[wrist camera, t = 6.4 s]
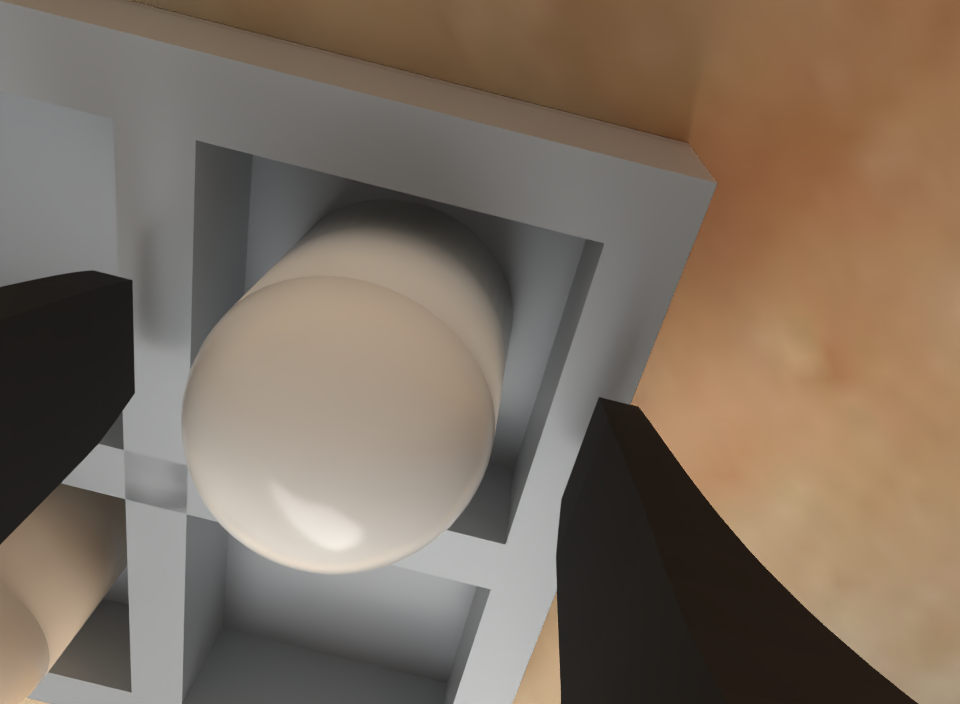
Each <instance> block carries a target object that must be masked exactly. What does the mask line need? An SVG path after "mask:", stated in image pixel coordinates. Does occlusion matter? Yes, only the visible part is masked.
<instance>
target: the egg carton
mask: <svg viewBox="0 0 960 704" xmlns="http://www.w3.org/2000/svg"><path fill="white" fill-rule="evenodd" d="M716 186H717V182H716V180H715V179H714V178H713V176H712V175H711V174H710V172H709V171H708V170H707V168H706V167H705V165H704V164H703V163H702V161H701V160H700V159H699V157H698V156H697V154H696V153H695V152H694V150H693V149H692V148H691V146H690V145H689V143H686V142H682V141H678V140H674V139H670V138H666V137H662V136H658V135H654V134H650V133H647V132H643V131H639V130H635V129H631V128H627V127H623V126H619V125H615V124H611V123H607V122H603V121H599V120H596V119H592V118H588V117H584V116H580V115H576V114H572V113H568V112H564V111H560V110H556V109H552V108H548V107H545V106H541V105H537V104H533V103H529V102H525V101H521V100H517V99H513V98H509V97H505V96H501V95H498V94H494V93H490V92H486V91H482V90H478V89H474V88H470V87H466V86H462V85H458V84H454V83H450V82H447V81H443V80H439V79H435V78H431V77H427V76H423V75H419V74H415V73H411V72H407V71H403V70H399V69H396V68H392V67H388V66H384V65H380V64H376V63H372V62H368V61H364V60H360V59H356V58H352V57H348V56H345V55H341V54H337V53H333V52H329V51H325V50H321V49H317V48H313V47H309V46H305V45H301V44H297V43H294V42H290V41H286V40H282V39H278V38H274V37H270V36H266V35H262V34H258V33H254V32H250V31H246V30H243V29H239V28H235V27H231V26H227V25H223V24H219V23H215V22H211V21H207V20H203V19H199V18H195V17H192V16H188V15H184V14H180V13H176V12H172V11H168V10H164V9H160V8H156V7H152V6H148V5H144V4H141V3H137V2H133V1H129V0H0V287H2V286H7V285H11V284H16V283H20V282H25V281H30V280H35V279H39V278H44V277H49V276H55V275H60V274H66V273H72V272H80V271H90V270H94V271H98V272H102V273H106V274H110V275H114V276H118V277H122V278H126V279H130V280H133V325H134V372H135V394H134V395H133V397H132V398H131V400H130V401H129V402H128V404H127V405H126V407H125V408H124V410H123V411H122V413H121V414H120V415H119V417H118V418H117V420H116V421H115V423H114V424H113V425H112V427H111V428H110V429H109V431H108V432H107V433H106V435H105V436H104V437H103V439H102V440H101V441H100V443H99V444H98V445H97V446H96V447H95V448H94V449H93V450H92V451H91V452H90V453H89V454H88V456H87V457H86V458H85V459H84V460H83V461H82V462H81V463H80V464H79V465H78V466H77V467H76V468H75V469H74V470H73V471H72V472H71V473H70V474H69V475H68V476H67V477H66V478H65V479H64V480H63V482H62V484H66V485H70V486H74V487H78V488H82V489H86V490H90V491H94V492H98V493H102V494H106V495H110V496H114V497H119V498H123V499H125V502H126V533H127V564H128V565H127V567H126V568H125V569H124V571H123V572H122V574H121V575H120V576H119V578H118V579H117V580H116V582H115V583H114V584H113V586H112V587H111V588H110V590H109V591H108V592H107V594H106V595H105V596H104V598H103V599H102V600H101V602H100V603H99V604H98V606H97V607H96V608H95V610H94V611H93V612H92V614H91V615H90V616H89V618H88V619H87V621H86V622H85V623H84V625H83V626H82V627H81V629H80V630H79V631H78V633H77V634H76V635H75V637H74V638H73V639H72V641H71V642H70V643H69V645H68V646H67V647H66V649H65V650H64V651H63V653H62V654H61V655H60V657H59V658H58V659H57V661H56V662H55V663H54V665H53V666H52V668H51V669H50V670H49V672H48V673H47V674H46V676H45V677H44V678H43V679H42V681H41V682H40V683H39V684H38V686H37V687H36V688H35V689H34V690H33V692H32V693H31V694H30V695H29V696H28V697H27V698H30V699H34V700H38V701H42V702H46V703H50V704H512V703H513V700H514V698H515V695H516V693H517V690H518V687H519V685H520V682H521V680H522V677H523V675H524V672H525V670H526V667H527V665H528V662H529V660H530V657H531V655H532V652H533V649H534V647H535V644H536V642H537V639H538V637H539V634H540V632H541V629H542V627H543V624H544V622H545V619H546V617H547V614H548V611H549V609H550V606H551V604H552V601H553V599H554V596H555V594H556V591H557V576H556V550H557V538H558V527H559V517H560V508H561V499H562V496H563V493H564V491H565V488H566V485H567V482H568V480H569V477H570V474H571V471H572V469H573V466H574V463H575V461H576V458H577V455H578V452H579V450H580V447H581V444H582V441H583V439H584V436H585V433H586V430H587V428H588V425H589V422H590V420H591V417H592V414H593V411H594V409H595V406H596V403H597V400H598V398H599V397H601V398H605V399H609V400H613V401H617V402H621V403H625V404H629V405H630V404H631V401H632V399H633V396H634V394H635V391H636V389H637V386H638V383H639V381H640V378H641V376H642V373H643V371H644V368H645V366H646V363H647V361H648V358H649V356H650V353H651V351H652V348H653V345H654V343H655V340H656V338H657V335H658V333H659V330H660V328H661V325H662V323H663V320H664V318H665V315H666V313H667V310H668V307H669V305H670V302H671V300H672V297H673V295H674V292H675V290H676V287H677V285H678V282H679V280H680V277H681V274H682V272H683V269H684V267H685V264H686V262H687V259H688V257H689V254H690V252H691V249H692V247H693V244H694V242H695V239H696V236H697V234H698V231H699V229H700V226H701V224H702V221H703V219H704V216H705V214H706V211H707V209H708V206H709V204H710V201H711V198H712V196H713V193H714V191H715V188H716ZM376 199H398V200H406V201H411V202H416V203H420V204H423V205H426V206H429V207H432V208H435V209H437V210H439V211H441V212H443V213H446V214H448V215H450V216H451V217H453V218H454V219H456V220H457V221H459V222H461V223H462V224H464V225H465V226H466V227H467V228H468V229H470V230H471V231H472V232H473V233H474V234H476V235H477V237H478V238H479V239H480V240H481V241H482V242H483V243H484V244H485V245H486V246H487V247H488V249H489V250H490V252H491V253H492V254H493V256H494V257H495V259H496V260H497V262H498V264H499V266H500V268H501V270H502V271H503V274H504V276H505V279H506V282H507V284H508V287H509V292H510V296H511V301H512V313H513V317H512V330H511V336H510V343H509V349H508V355H507V361H506V368H505V374H504V380H503V387H502V393H501V399H500V405H499V412H498V418H497V424H496V431H495V437H494V442H493V447H492V451H491V455H490V459H489V463H488V466H487V469H486V471H485V474H484V476H483V479H482V481H481V483H480V485H479V487H478V489H477V491H476V493H475V494H474V496H473V498H472V499H471V501H470V503H469V504H468V506H467V507H466V508H465V509H464V511H463V512H462V513H461V514H460V516H459V517H458V518H457V519H456V520H455V522H454V523H453V524H452V525H451V526H450V527H449V528H448V529H447V530H446V531H445V532H444V533H443V534H441V535H440V536H439V537H438V538H437V539H435V540H434V541H433V542H432V543H430V544H429V545H428V546H426V547H425V548H423V549H422V550H420V551H419V552H417V553H415V554H413V555H411V556H409V557H407V558H405V559H403V560H400V561H398V562H396V563H394V564H392V565H389V566H386V567H383V568H380V569H375V570H370V571H365V572H360V573H354V574H343V575H327V574H318V573H311V572H306V571H301V570H296V569H293V568H289V567H286V566H283V565H280V564H278V563H275V562H273V561H270V560H268V559H266V558H264V557H262V556H260V555H259V554H257V553H255V552H254V551H252V550H251V549H249V548H247V547H246V546H245V545H243V544H242V543H241V542H239V541H238V540H237V539H235V538H234V537H233V536H232V535H231V534H230V533H229V532H228V531H226V530H225V529H224V528H223V527H222V526H221V525H220V523H219V522H218V521H217V520H216V519H215V518H214V516H213V515H212V514H211V512H210V511H209V509H208V508H207V506H206V505H205V503H204V502H203V500H202V498H201V496H200V495H199V493H198V491H197V489H196V487H195V485H194V483H193V481H192V478H191V475H190V472H189V470H188V466H187V462H186V458H185V454H184V449H183V444H182V433H181V410H182V401H183V395H184V391H185V386H186V383H187V379H188V375H189V372H190V369H191V366H192V364H193V362H194V360H195V358H196V356H197V354H198V352H199V350H200V348H201V346H202V344H203V342H204V340H205V339H206V337H207V336H208V335H209V333H210V332H211V330H212V329H213V328H214V326H215V325H216V324H217V323H218V321H219V320H220V319H221V318H222V317H223V316H224V315H225V314H226V313H227V312H228V311H229V310H230V309H231V308H232V307H233V306H234V305H235V304H236V303H237V302H238V301H239V300H240V299H241V298H242V297H243V296H244V295H245V294H246V293H247V292H248V291H249V290H250V289H251V288H252V287H253V286H254V285H255V284H256V283H257V282H258V281H259V280H260V279H261V278H262V277H263V276H264V275H265V274H266V273H267V272H268V271H269V270H270V269H271V268H272V267H273V266H274V265H275V264H276V263H277V262H278V261H279V260H280V259H281V258H282V257H283V256H284V255H285V254H286V253H287V252H288V251H289V250H290V249H291V248H292V247H293V246H294V245H295V244H296V243H297V242H298V241H299V240H300V239H301V238H302V237H303V236H304V235H305V234H306V233H307V232H308V231H309V230H310V229H311V228H312V227H313V226H314V225H315V224H317V223H318V222H319V221H321V220H322V219H323V218H325V217H326V216H327V215H329V214H331V213H333V212H335V211H336V210H338V209H340V208H343V207H345V206H348V205H351V204H354V203H358V202H362V201H367V200H376Z"/></svg>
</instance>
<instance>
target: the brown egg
mask: <svg viewBox="0 0 960 704" xmlns="http://www.w3.org/2000/svg"><path fill="white" fill-rule="evenodd" d="M127 565H128V564H127V533H126V502H125V499H123V498H119V497H114V496H110V495H106V494H102V493H98V492H94V491H90V490H86V489H82V488H78V487H74V486H70V485H66V484H62V483H61V484H60V485H59V486H58V487H57V488H56V489H55V490H54V491H53V492H52V493H51V494H50V495H49V496H48V497H47V498H46V499H45V500H44V501H43V502H42V503H41V504H40V505H39V506H38V507H37V508H36V509H35V510H34V511H33V512H32V513H31V514H30V515H29V516H28V517H27V518H26V519H25V520H24V521H23V522H22V523H21V524H20V525H19V526H18V527H17V528H16V529H15V530H14V531H13V532H12V533H11V534H10V535H9V536H8V537H7V538H6V539H5V540H4V542H3V543H2V544H1V545H0V704H21V703H22V702H23V701H24V700H25V699H26V698H27V697H28V696H29V695H30V694H31V693H32V692H33V690H34V689H35V688H36V687H37V686H38V684H39V683H40V682H41V681H42V679H43V678H44V677H45V676H46V674H47V673H48V672H49V670H50V669H51V668H52V666H53V665H54V663H55V662H56V661H57V659H58V658H59V657H60V655H61V654H62V653H63V651H64V650H65V649H66V647H67V646H68V645H69V643H70V642H71V641H72V639H73V638H74V637H75V635H76V634H77V633H78V631H79V630H80V629H81V627H82V626H83V625H84V623H85V622H86V621H87V619H88V618H89V616H90V615H91V614H92V612H93V611H94V610H95V608H96V607H97V606H98V604H99V603H100V602H101V600H102V599H103V598H104V596H105V595H106V594H107V592H108V591H109V590H110V588H111V587H112V586H113V584H114V583H115V582H116V580H117V579H118V578H119V576H120V575H121V574H122V572H123V571H124V569H125V568H126V567H127Z"/></svg>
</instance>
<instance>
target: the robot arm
mask: <svg viewBox="0 0 960 704" xmlns="http://www.w3.org/2000/svg"><path fill="white" fill-rule="evenodd" d="M134 394H135V372H134V325H133V280H130V279H126V278H122V277H118V276H114V275H110V274H106V273H102V272H98V271H94V270H90V271H80V272H72V273H66V274H60V275H55V276H49V277H44V278H39V279H35V280H30V281H25V282H20V283H16V284H11V285H7V286H2V287H0V545H1V544H2V543H3V542H4V540H5V539H6V538H7V537H8V536H9V535H10V534H11V533H12V532H13V531H14V530H15V529H16V528H17V527H18V526H19V525H20V524H21V523H22V522H23V521H24V520H25V519H26V518H27V517H28V516H29V515H30V514H31V513H32V512H33V511H34V510H35V509H36V508H37V507H38V506H39V505H40V504H41V503H42V502H43V501H44V500H45V499H46V498H47V497H48V496H49V495H50V494H51V493H52V492H53V491H54V490H55V489H56V488H57V487H58V486H59V485H60V484H61V483H62V482H63V480H64V479H65V478H66V477H67V476H68V475H69V474H70V473H71V472H72V471H73V470H74V469H75V468H76V467H77V466H78V465H79V464H80V463H81V462H82V461H83V460H84V459H85V458H86V457H87V456H88V454H89V453H90V452H91V451H92V450H93V449H94V448H95V447H96V446H97V445H98V444H99V443H100V441H101V440H102V439H103V437H104V436H105V435H106V433H107V432H108V431H109V429H110V428H111V427H112V425H113V424H114V423H115V421H116V420H117V418H118V417H119V415H120V414H121V413H122V411H123V410H124V408H125V407H126V405H127V404H128V402H129V401H130V400H131V398H132V397H133V395H134ZM556 576H557V605H558V630H559V654H560V679H561V704H918V703H917V702H915V701H914V700H913V699H911V698H910V697H909V696H907V695H906V694H905V693H904V692H903V691H901V690H900V689H899V688H898V687H896V686H895V685H894V684H893V683H891V682H890V681H889V680H888V679H886V678H885V677H884V676H883V675H881V674H880V673H879V672H878V671H876V670H875V669H874V668H873V667H872V666H870V665H869V664H868V663H867V662H866V661H865V660H863V659H862V658H861V657H860V656H859V655H858V654H856V653H855V652H854V651H853V650H852V649H851V648H850V647H848V646H847V645H846V644H845V643H844V642H843V641H841V640H840V639H839V638H838V637H837V636H836V635H835V634H833V633H832V632H831V631H830V630H829V629H828V628H827V627H825V626H824V625H823V624H822V623H821V622H820V621H819V620H818V619H817V618H816V617H815V616H814V615H812V614H811V613H810V612H809V611H808V610H807V609H806V608H805V607H804V606H803V605H802V604H801V603H800V602H799V601H798V600H797V599H796V598H795V597H794V596H793V595H792V594H791V593H790V592H789V591H788V590H787V589H786V588H785V587H784V586H783V585H782V584H781V583H780V582H779V581H778V580H777V579H776V578H775V577H774V576H773V575H772V574H771V573H770V572H769V571H768V570H767V569H766V568H765V567H764V566H763V565H762V564H761V563H760V562H759V561H758V559H757V558H756V557H755V556H754V555H753V554H752V553H751V552H750V551H749V550H748V549H747V547H746V546H745V545H744V544H743V543H742V542H741V540H740V539H739V538H738V537H737V536H736V535H735V533H734V532H733V531H732V530H731V529H730V528H729V526H728V525H727V524H726V523H725V522H724V520H723V519H722V518H721V517H720V516H719V515H718V513H717V512H716V511H715V510H714V508H713V507H712V506H711V505H710V503H709V502H708V501H707V500H706V498H705V497H704V496H703V494H702V493H701V492H700V490H699V489H698V488H697V487H696V485H695V484H694V483H693V481H692V480H691V479H690V477H689V476H688V475H687V473H686V472H685V470H684V469H683V468H682V466H681V465H680V464H679V462H678V461H677V460H676V458H675V457H674V455H673V454H672V452H671V451H670V450H669V448H668V447H667V445H666V444H665V443H664V441H663V440H662V438H661V437H660V436H659V434H658V433H657V431H656V430H655V429H654V427H653V426H652V424H651V423H650V422H649V420H648V419H647V417H646V416H645V415H644V413H643V412H642V411H641V410H640V408H639V407H637V406H633V405H629V404H625V403H621V402H617V401H613V400H609V399H605V398H601V397H599V398H598V400H597V403H596V406H595V409H594V411H593V414H592V417H591V420H590V422H589V425H588V428H587V430H586V433H585V436H584V439H583V441H582V444H581V447H580V450H579V452H578V455H577V458H576V461H575V463H574V466H573V469H572V471H571V474H570V477H569V480H568V482H567V485H566V488H565V491H564V493H563V496H562V499H561V508H560V517H559V527H558V538H557V550H556Z"/></svg>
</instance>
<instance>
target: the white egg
mask: <svg viewBox="0 0 960 704" xmlns="http://www.w3.org/2000/svg"><path fill="white" fill-rule="evenodd" d="M512 317H513V313H512V301H511V296H510V292H509V287H508V284H507V282H506V279H505V276H504V274H503V271H502V270H501V268H500V266H499V264H498V262H497V260H496V259H495V257H494V256H493V254H492V253H491V252H490V250H489V249H488V247H487V246H486V245H485V244H484V243H483V242H482V241H481V240H480V239H479V238H478V237H477V235H476V234H474V233H473V232H472V231H471V230H470V229H468V228H467V227H466V226H465V225H464V224H462V223H461V222H459V221H457V220H456V219H454V218H453V217H451V216H450V215H448V214H446V213H443V212H441V211H439V210H437V209H435V208H432V207H429V206H426V205H423V204H420V203H416V202H411V201H406V200H398V199H376V200H367V201H362V202H358V203H354V204H351V205H348V206H345V207H343V208H340V209H338V210H336V211H335V212H333V213H331V214H329V215H327V216H326V217H325V218H323V219H322V220H321V221H319V222H318V223H317V224H315V225H314V226H313V227H312V228H311V229H310V230H309V231H308V232H307V233H306V234H305V235H304V236H303V237H302V238H301V239H300V240H299V241H298V242H297V243H296V244H295V245H294V246H293V247H292V248H291V249H290V250H289V251H288V252H287V253H286V254H285V255H284V256H283V257H282V258H281V259H280V260H279V261H278V262H277V263H276V264H275V265H274V266H273V267H272V268H271V269H270V270H269V271H268V272H267V273H266V274H265V275H264V276H263V277H262V278H261V279H260V280H259V281H258V282H257V283H256V284H255V285H254V286H253V287H252V288H251V289H250V290H249V291H248V292H247V293H246V294H245V295H244V296H243V297H242V298H241V299H240V300H239V301H238V302H237V303H236V304H235V305H234V306H233V307H232V308H231V309H230V310H229V311H228V312H227V313H226V314H225V315H224V316H223V317H222V318H221V319H220V320H219V321H218V323H217V324H216V325H215V326H214V328H213V329H212V330H211V332H210V333H209V335H208V336H207V337H206V339H205V340H204V342H203V344H202V346H201V348H200V350H199V352H198V354H197V356H196V358H195V360H194V362H193V364H192V366H191V369H190V372H189V375H188V379H187V383H186V386H185V391H184V395H183V401H182V410H181V433H182V444H183V449H184V454H185V458H186V462H187V466H188V470H189V472H190V475H191V478H192V481H193V483H194V485H195V487H196V489H197V491H198V493H199V495H200V496H201V498H202V500H203V502H204V503H205V505H206V506H207V508H208V509H209V511H210V512H211V514H212V515H213V516H214V518H215V519H216V520H217V521H218V522H219V523H220V525H221V526H222V527H223V528H224V529H225V530H226V531H228V532H229V533H230V534H231V535H232V536H233V537H234V538H235V539H237V540H238V541H239V542H241V543H242V544H243V545H245V546H246V547H247V548H249V549H251V550H252V551H254V552H255V553H257V554H259V555H260V556H262V557H264V558H266V559H268V560H270V561H273V562H275V563H278V564H280V565H283V566H286V567H289V568H293V569H296V570H301V571H306V572H311V573H318V574H327V575H343V574H354V573H360V572H365V571H370V570H375V569H380V568H383V567H386V566H389V565H392V564H394V563H396V562H398V561H400V560H403V559H405V558H407V557H409V556H411V555H413V554H415V553H417V552H419V551H420V550H422V549H423V548H425V547H426V546H428V545H429V544H430V543H432V542H433V541H434V540H435V539H437V538H438V537H439V536H440V535H441V534H443V533H444V532H445V531H446V530H447V529H448V528H449V527H450V526H451V525H452V524H453V523H454V522H455V520H456V519H457V518H458V517H459V516H460V514H461V513H462V512H463V511H464V509H465V508H466V507H467V506H468V504H469V503H470V501H471V499H472V498H473V496H474V494H475V493H476V491H477V489H478V487H479V485H480V483H481V481H482V479H483V476H484V474H485V471H486V469H487V466H488V463H489V459H490V455H491V451H492V447H493V442H494V437H495V431H496V424H497V418H498V412H499V405H500V399H501V393H502V387H503V380H504V374H505V368H506V361H507V355H508V349H509V343H510V336H511V330H512Z"/></svg>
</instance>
